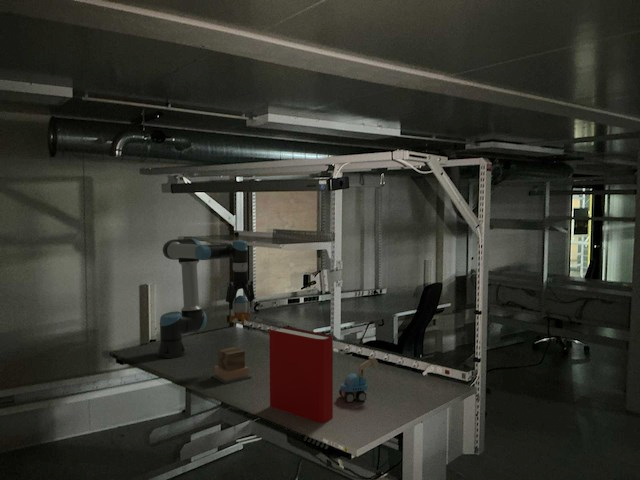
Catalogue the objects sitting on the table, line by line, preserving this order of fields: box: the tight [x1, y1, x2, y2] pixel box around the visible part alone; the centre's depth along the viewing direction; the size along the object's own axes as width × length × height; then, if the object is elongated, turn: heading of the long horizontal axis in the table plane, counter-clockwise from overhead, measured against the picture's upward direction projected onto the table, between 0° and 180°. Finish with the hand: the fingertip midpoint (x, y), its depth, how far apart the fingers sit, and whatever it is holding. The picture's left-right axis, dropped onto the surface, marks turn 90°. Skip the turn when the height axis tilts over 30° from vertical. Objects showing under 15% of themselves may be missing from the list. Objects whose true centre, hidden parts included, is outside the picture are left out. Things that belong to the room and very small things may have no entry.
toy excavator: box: [338, 356, 379, 403], centre depth 216 cm, size 9×17×17 cm, turn 107°
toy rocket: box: [229, 295, 250, 326], centre depth 259 cm, size 10×11×15 cm
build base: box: [211, 365, 252, 385], centre depth 245 cm, size 14×14×5 cm
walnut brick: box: [217, 346, 246, 371], centre depth 244 cm, size 10×9×8 cm
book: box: [269, 325, 334, 424], centre depth 201 cm, size 27×8×32 cm, turn 51°
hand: (240, 314), depth 261 cm, fingers closed on toy rocket, 8 cm apart
